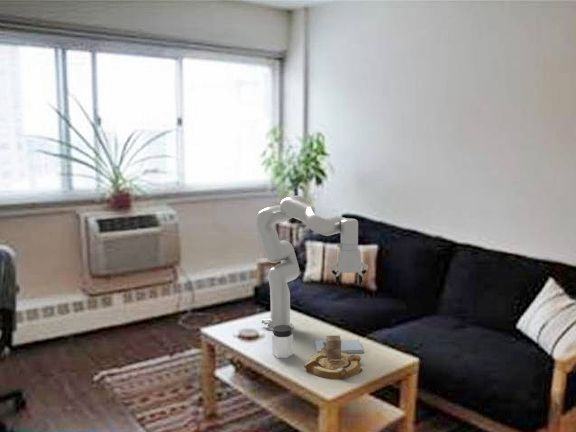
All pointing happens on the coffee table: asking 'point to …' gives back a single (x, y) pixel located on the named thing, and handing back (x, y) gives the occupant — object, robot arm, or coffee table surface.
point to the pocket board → (342, 346)
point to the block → (333, 347)
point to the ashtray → (333, 365)
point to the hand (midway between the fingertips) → (348, 284)
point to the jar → (282, 341)
